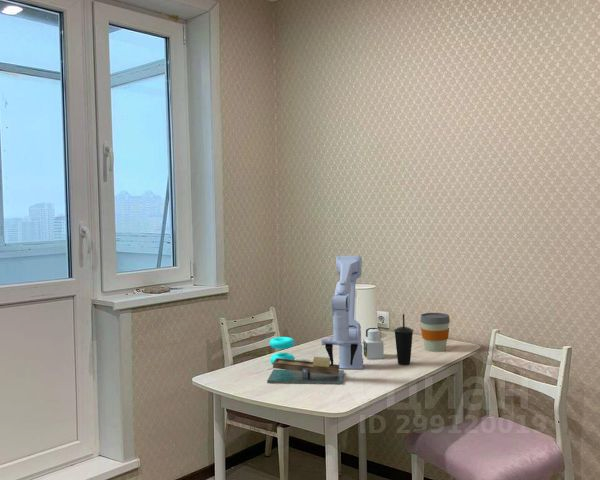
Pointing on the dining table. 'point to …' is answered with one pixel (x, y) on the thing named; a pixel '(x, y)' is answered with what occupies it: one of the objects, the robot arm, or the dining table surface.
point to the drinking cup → (403, 343)
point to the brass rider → (321, 362)
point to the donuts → (281, 347)
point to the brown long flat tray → (298, 365)
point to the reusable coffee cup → (435, 331)
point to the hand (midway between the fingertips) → (341, 364)
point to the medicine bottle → (373, 344)
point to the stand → (304, 377)
